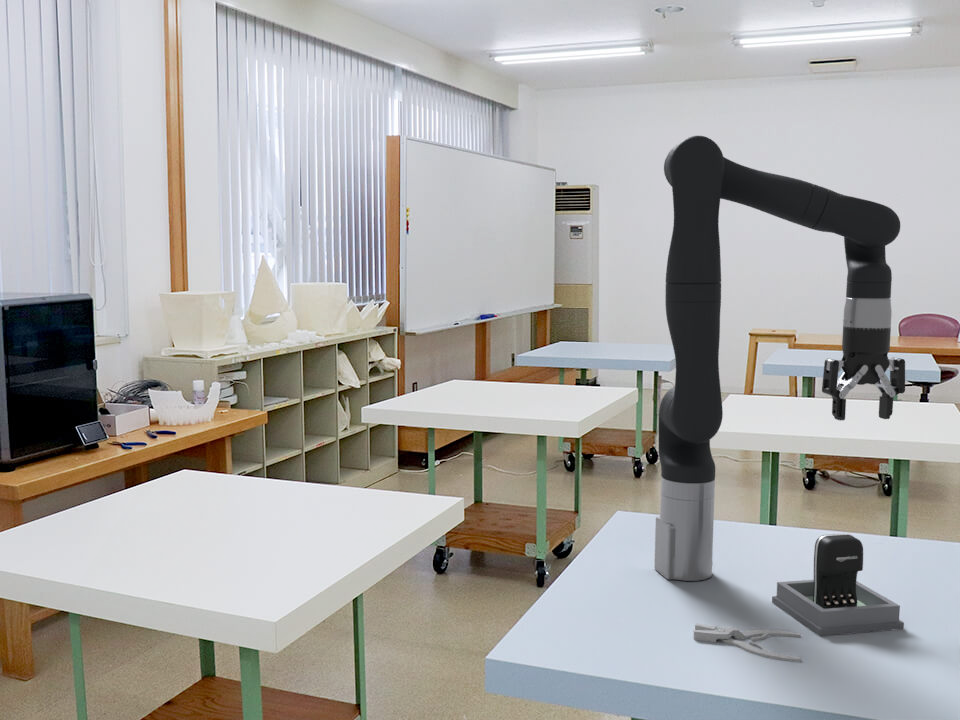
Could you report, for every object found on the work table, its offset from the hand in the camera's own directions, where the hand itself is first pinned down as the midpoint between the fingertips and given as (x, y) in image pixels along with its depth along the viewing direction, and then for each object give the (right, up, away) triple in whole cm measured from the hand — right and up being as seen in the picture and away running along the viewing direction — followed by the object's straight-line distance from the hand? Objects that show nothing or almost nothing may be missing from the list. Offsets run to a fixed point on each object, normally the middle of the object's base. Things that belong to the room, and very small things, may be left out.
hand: (862, 419), depth 163 cm
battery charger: (-10, -29, -14) cm, 33 cm away
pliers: (-27, -32, -24) cm, 48 cm away
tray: (-10, -30, -14) cm, 34 cm away
